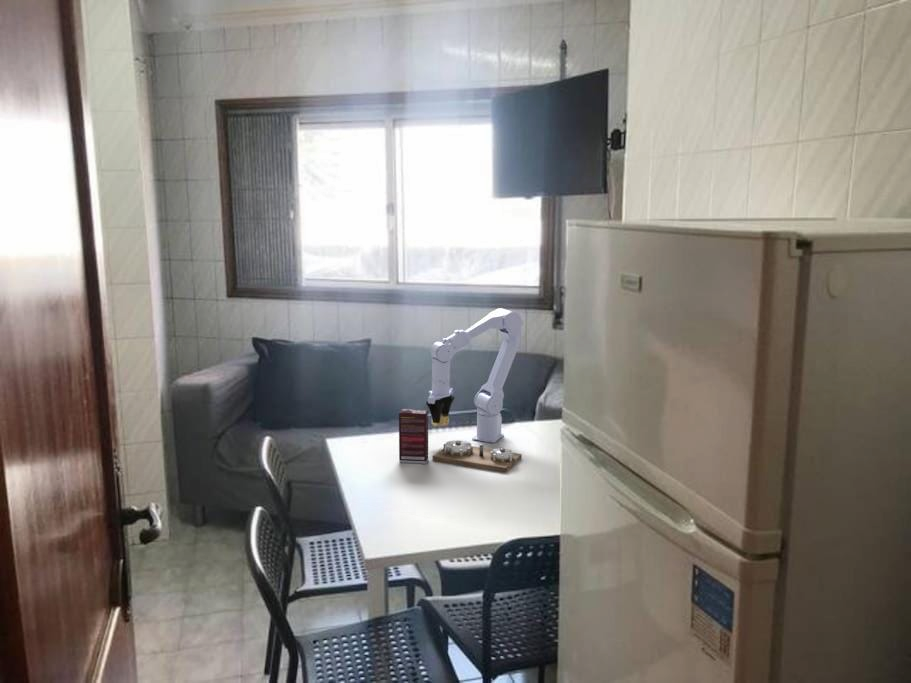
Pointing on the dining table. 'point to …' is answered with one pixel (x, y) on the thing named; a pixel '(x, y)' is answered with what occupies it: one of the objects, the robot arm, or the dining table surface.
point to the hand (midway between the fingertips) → (440, 420)
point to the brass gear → (442, 420)
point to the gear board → (477, 456)
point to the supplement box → (413, 436)
